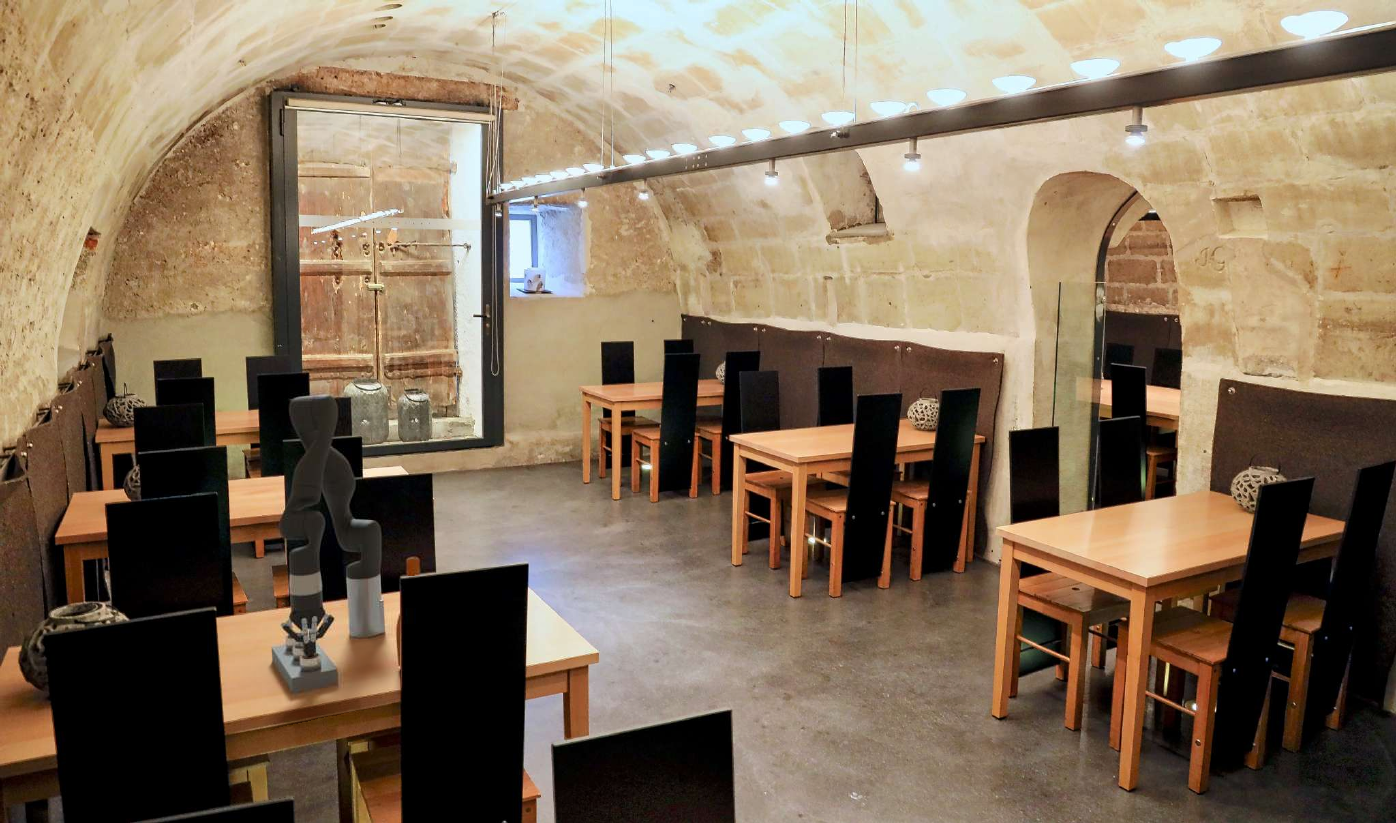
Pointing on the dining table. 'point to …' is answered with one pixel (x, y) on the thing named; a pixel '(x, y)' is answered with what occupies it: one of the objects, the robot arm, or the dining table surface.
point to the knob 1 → (291, 642)
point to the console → (303, 679)
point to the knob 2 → (297, 651)
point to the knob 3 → (310, 662)
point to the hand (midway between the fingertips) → (309, 655)
